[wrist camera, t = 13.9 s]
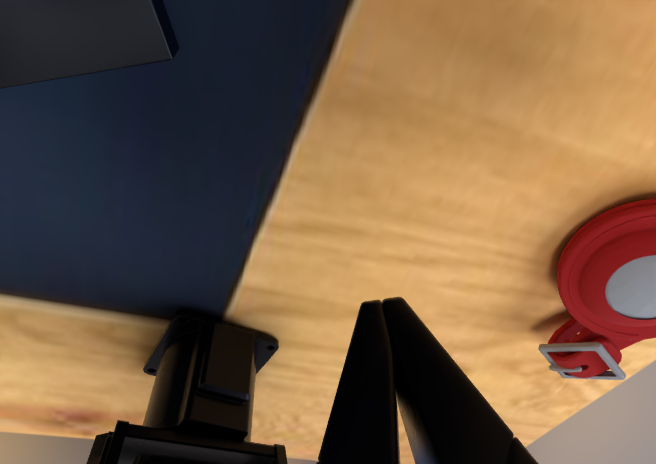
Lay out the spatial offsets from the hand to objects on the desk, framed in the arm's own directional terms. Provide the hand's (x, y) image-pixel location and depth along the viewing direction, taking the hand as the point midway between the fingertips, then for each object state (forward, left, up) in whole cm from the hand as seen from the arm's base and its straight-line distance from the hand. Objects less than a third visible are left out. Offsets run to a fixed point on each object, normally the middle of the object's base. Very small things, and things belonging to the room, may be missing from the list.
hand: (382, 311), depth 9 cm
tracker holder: (-1, -19, -11) cm, 22 cm away
